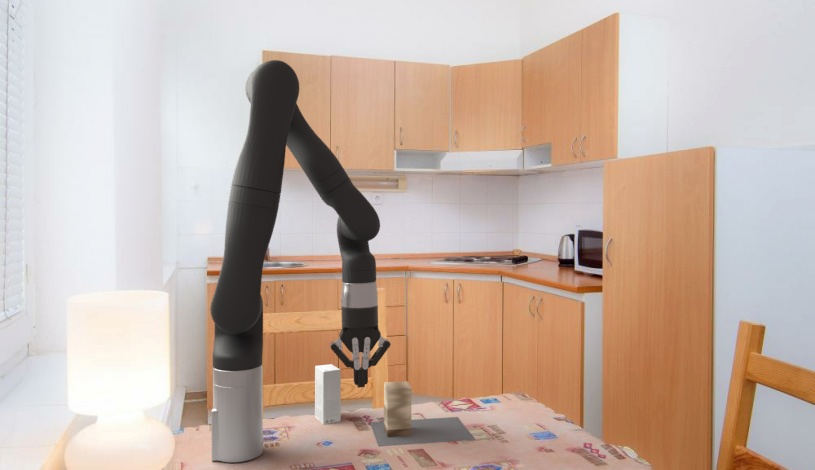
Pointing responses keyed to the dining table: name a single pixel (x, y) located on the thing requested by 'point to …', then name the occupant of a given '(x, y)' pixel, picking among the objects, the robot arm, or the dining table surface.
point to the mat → (425, 432)
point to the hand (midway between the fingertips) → (361, 386)
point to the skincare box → (328, 393)
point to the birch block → (397, 409)
